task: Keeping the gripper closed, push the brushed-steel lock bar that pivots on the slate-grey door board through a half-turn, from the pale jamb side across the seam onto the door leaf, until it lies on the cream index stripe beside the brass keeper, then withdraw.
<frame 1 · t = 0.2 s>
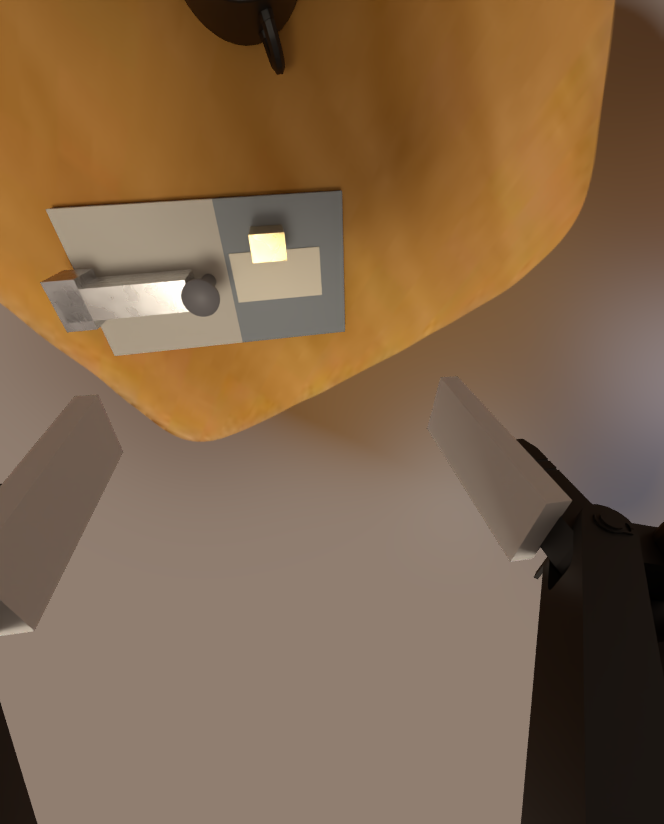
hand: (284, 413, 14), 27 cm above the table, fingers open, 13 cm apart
lock bar: (130, 295, 32), point 4 cm above the table, hinge at 0.0°
door board: (220, 277, 35), on the table
keeper: (267, 236, 34), resting on door board
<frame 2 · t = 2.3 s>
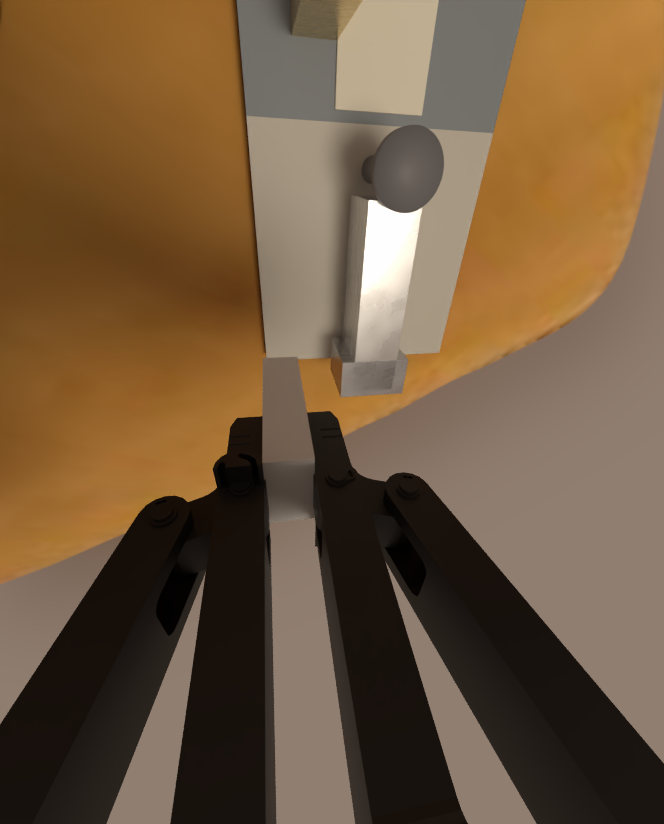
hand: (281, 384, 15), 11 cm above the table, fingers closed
lock bar: (372, 303, 22), point 4 cm above the table, hinge at 0.0°
door board: (369, 149, 20), on the table
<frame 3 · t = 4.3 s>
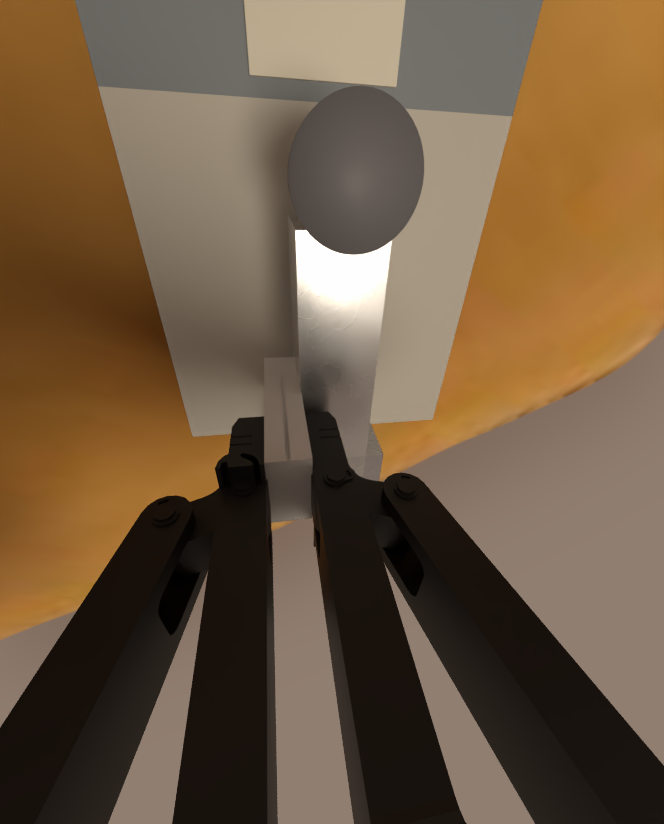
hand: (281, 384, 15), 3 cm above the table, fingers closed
lock bar: (329, 373, 14), point 4 cm above the table, hinge at 0.3°, touching gripper
door board: (319, 142, 13), on the table
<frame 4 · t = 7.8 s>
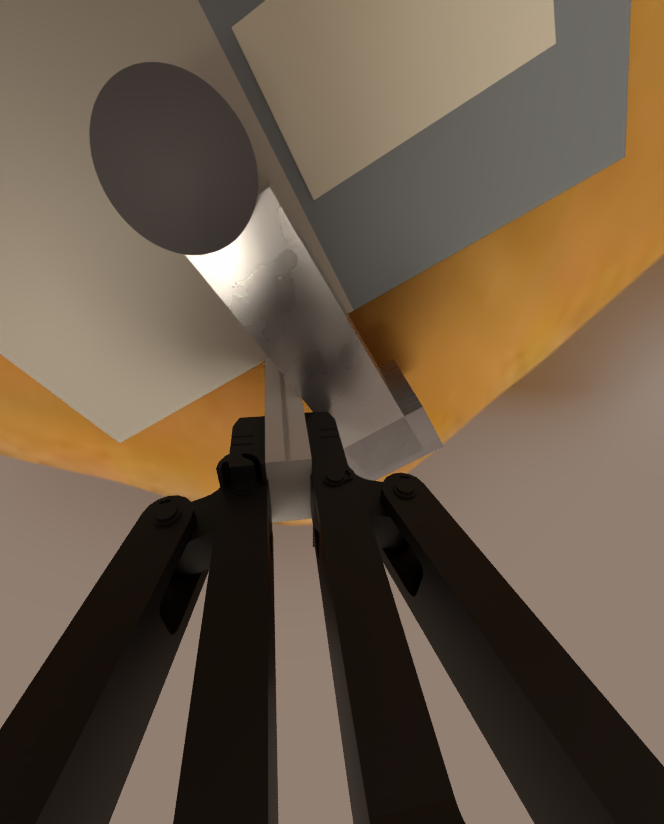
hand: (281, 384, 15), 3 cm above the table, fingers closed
lock bar: (327, 353, 13), point 4 cm above the table, hinge at 92.6°, touching gripper
door board: (243, 152, 12), on the table
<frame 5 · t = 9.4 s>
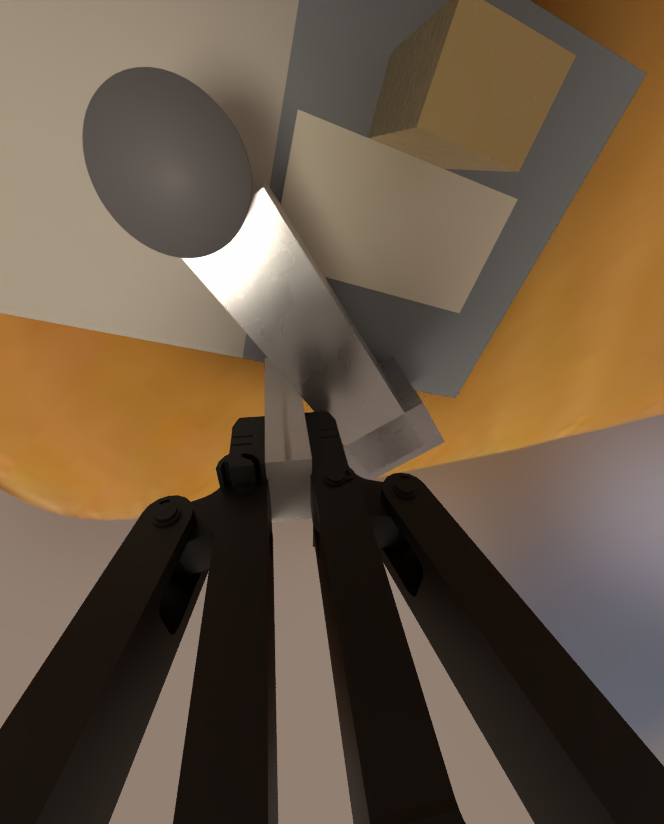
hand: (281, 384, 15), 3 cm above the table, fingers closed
lock bar: (327, 351, 13), point 4 cm above the table, hinge at 138.4°, touching gripper
door board: (243, 178, 13), on the table
keeper: (406, 118, 13), resting on door board
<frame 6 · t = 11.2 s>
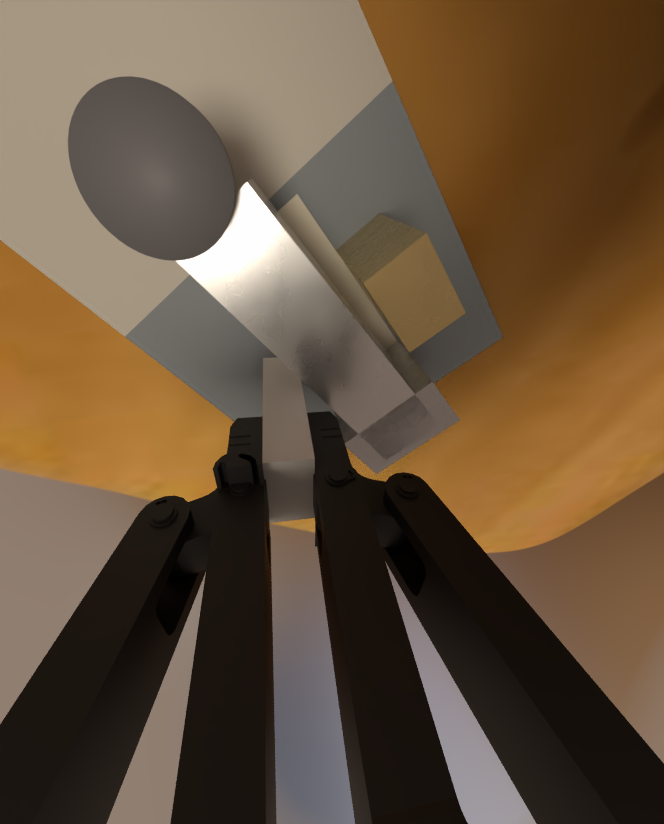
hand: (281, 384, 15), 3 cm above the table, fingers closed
lock bar: (330, 341, 13), point 4 cm above the table, hinge at 181.8°
door board: (224, 199, 13), on the table
keeper: (368, 257, 16), resting on door board
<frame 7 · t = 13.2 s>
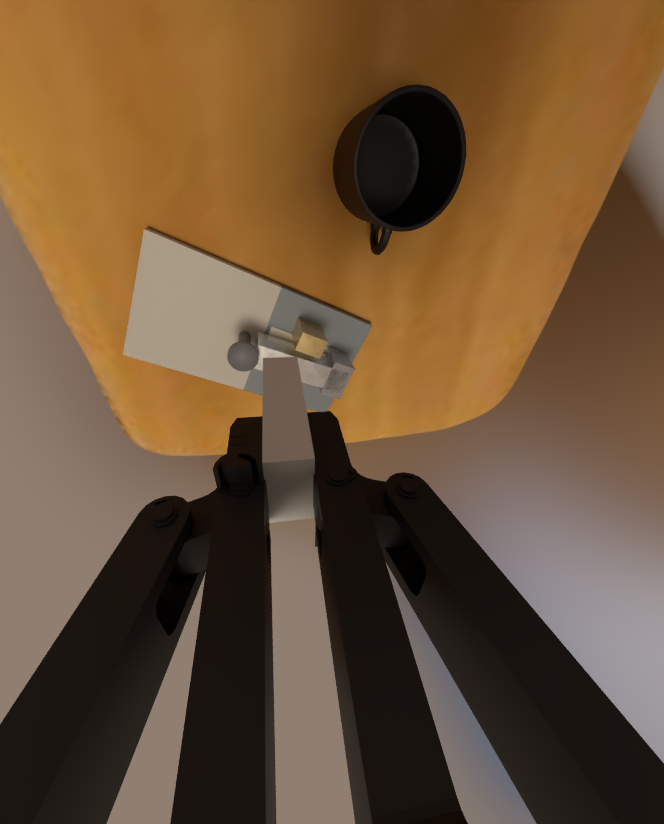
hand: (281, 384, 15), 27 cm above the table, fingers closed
lock bar: (301, 363, 40), point 4 cm above the table, hinge at 181.8°
door board: (253, 335, 41), on the table
keeper: (305, 326, 42), resting on door board
mug: (374, 183, 35), on the table
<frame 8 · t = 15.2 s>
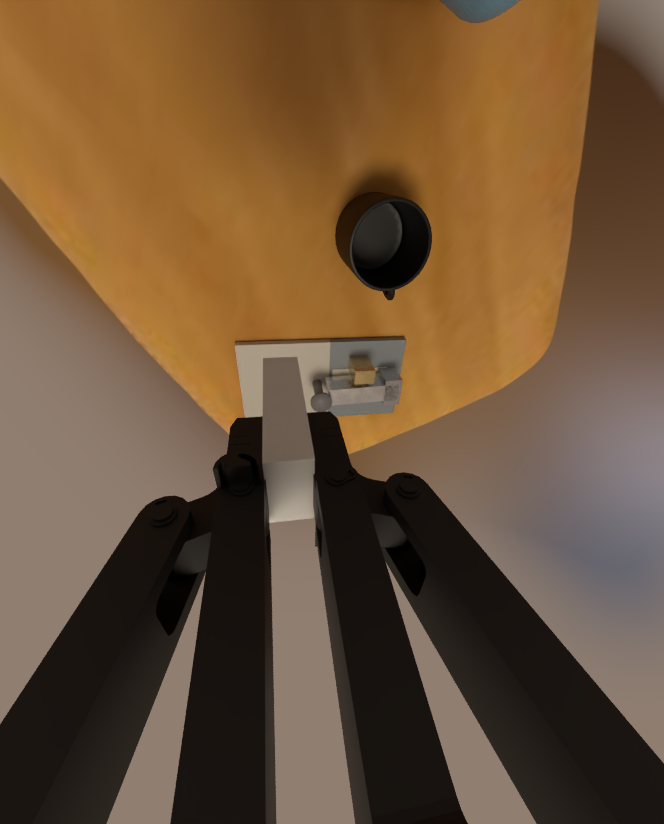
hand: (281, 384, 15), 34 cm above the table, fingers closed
lock bar: (362, 388, 53), point 4 cm above the table, hinge at 181.8°
door board: (321, 379, 56), on the table
keeper: (355, 358, 54), resting on door board
mug: (371, 244, 45), on the table
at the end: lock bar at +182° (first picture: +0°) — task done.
